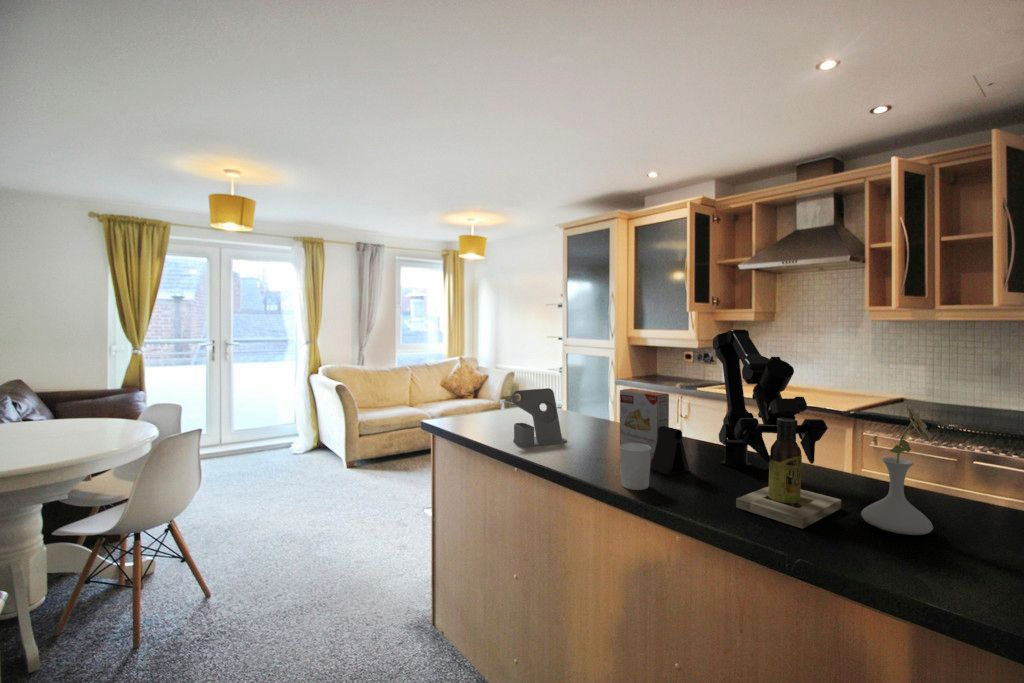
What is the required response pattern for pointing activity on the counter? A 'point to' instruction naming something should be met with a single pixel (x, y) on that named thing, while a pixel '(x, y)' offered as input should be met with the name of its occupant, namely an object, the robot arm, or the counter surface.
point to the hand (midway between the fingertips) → (790, 462)
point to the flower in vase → (899, 491)
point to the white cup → (635, 465)
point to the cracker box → (642, 416)
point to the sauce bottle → (785, 465)
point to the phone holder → (538, 419)
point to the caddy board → (790, 507)
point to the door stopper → (669, 452)
